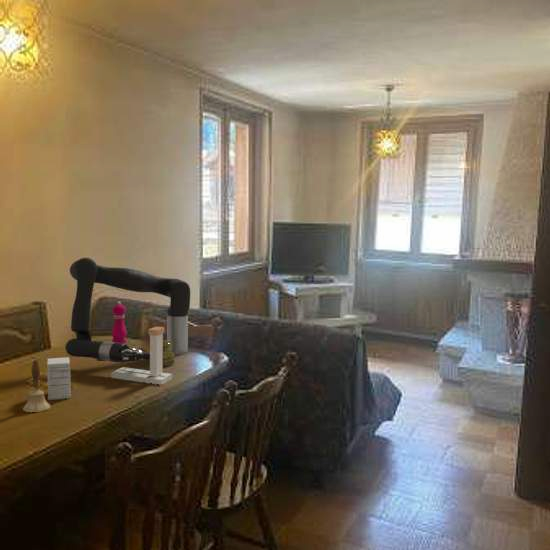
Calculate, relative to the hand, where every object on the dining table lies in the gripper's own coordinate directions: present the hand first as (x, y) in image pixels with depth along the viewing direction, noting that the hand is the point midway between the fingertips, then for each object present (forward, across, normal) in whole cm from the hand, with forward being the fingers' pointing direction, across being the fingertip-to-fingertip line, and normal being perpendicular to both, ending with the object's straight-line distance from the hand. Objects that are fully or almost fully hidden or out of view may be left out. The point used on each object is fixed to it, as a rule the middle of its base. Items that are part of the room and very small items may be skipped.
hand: (153, 357), depth 212 cm
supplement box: (-20, -28, +9) cm, 36 cm away
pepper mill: (-44, +43, +9) cm, 62 cm away
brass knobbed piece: (-6, +21, +9) cm, 24 cm away
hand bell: (-19, -40, +9) cm, 46 cm away
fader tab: (+1, 0, +7) cm, 7 cm away
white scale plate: (-5, 0, +9) cm, 10 cm away
